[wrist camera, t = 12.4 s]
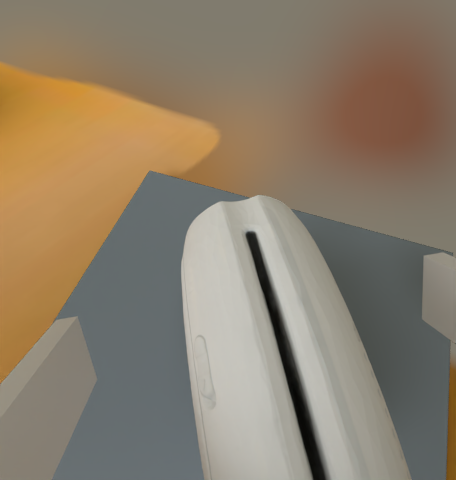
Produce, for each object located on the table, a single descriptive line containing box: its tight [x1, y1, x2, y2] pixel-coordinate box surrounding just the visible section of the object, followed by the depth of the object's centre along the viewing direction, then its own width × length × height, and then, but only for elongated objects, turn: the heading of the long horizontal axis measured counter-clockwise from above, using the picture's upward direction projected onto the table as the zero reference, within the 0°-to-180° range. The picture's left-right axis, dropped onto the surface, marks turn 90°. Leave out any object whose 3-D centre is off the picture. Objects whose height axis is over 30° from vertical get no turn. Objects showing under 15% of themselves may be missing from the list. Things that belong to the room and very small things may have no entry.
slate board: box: [52, 171, 453, 480], centre depth 18 cm, size 22×20×2 cm
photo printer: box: [181, 195, 412, 480], centre depth 11 cm, size 10×4×12 cm, turn 11°
